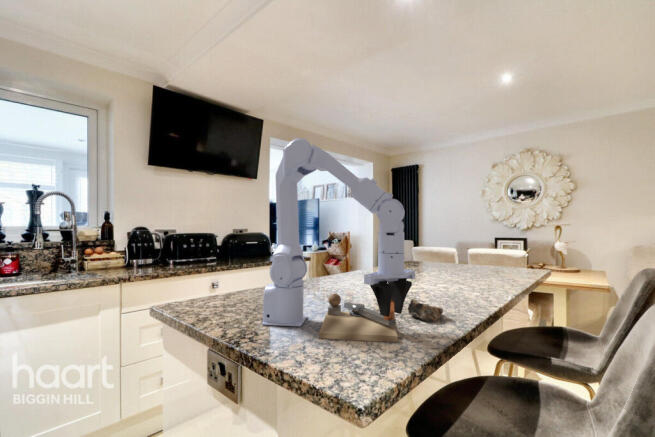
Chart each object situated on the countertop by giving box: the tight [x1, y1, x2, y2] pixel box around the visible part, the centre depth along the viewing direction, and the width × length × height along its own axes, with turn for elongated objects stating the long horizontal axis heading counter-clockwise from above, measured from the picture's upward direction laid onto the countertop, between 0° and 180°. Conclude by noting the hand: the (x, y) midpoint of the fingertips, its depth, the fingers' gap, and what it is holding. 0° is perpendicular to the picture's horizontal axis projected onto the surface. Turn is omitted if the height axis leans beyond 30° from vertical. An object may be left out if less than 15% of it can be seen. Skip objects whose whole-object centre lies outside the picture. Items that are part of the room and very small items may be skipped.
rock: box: [407, 298, 444, 323], centre depth 76 cm, size 9×6×10 cm
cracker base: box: [318, 293, 399, 343], centre depth 68 cm, size 16×16×6 cm
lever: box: [343, 300, 397, 326], centre depth 71 cm, size 17×3×5 cm, turn 32°
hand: (390, 314), depth 65 cm, fingers open, 3 cm apart
